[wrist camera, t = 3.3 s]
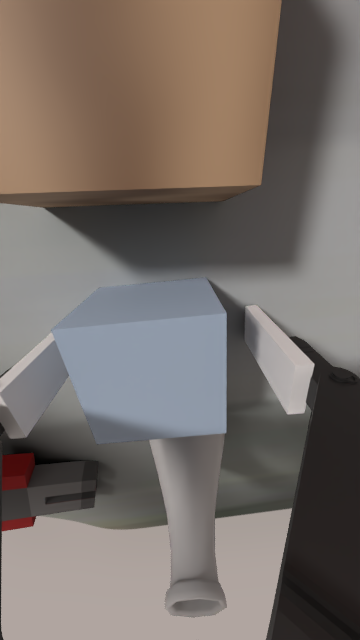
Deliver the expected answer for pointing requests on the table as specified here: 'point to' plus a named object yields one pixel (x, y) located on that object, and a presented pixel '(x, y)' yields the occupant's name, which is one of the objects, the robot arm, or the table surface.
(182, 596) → the flask
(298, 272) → the table surface
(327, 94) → the table surface
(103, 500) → the table surface
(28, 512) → the toy
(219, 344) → the blue brick
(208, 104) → the base block
